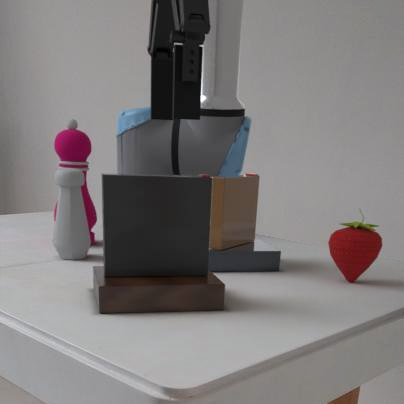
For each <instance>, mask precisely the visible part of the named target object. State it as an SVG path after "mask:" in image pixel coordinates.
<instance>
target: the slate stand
mask: <svg viewBox="0 0 404 404" xmlns="http://www.w3.org/2000/svg"><path fill="white" fill-rule="evenodd" d="M209 245H210V241H209ZM281 256H282V251H281V250H279V248H276V247H275V246H272V245H270V244H268V243H267V242H265V241H263V240H261V239H259V238H257V239H256V238H255V241H252V242H249V243H245V244H241V245H238V246H234V247H231V248H227V249H223V250H216V249H210V248H209V262H208V269H209V270H210V271H211V272H212V273H217V272H218V273H219V272H220V273H221V272H223V273H225V272H279V271H280V268H281Z"/></svg>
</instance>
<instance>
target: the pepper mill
mask: <svg viewBox="0 0 404 404" xmlns="http://www.w3.org/2000/svg"><path fill="white" fill-rule="evenodd" d="M78 126H79V124H78V121H77V120H76V119H74V118H70V119H68V120H67V121H66V127H67V129H63V130H61V131H59V132H58V133H57V134H56V136H55V137H54V142H53V149H54V152H55V154H56V155H57V156H58V157H59V160H58V161H57V164H58V167H57V168H58V169H57V170H59V169H64V168H70V169H79V170H81V171H82V172H83V173H84V185H83V186H81V191H82V197H83V202H84V207H85V212H86V218H87V223H88V228H89V233H90V238H91V246H92V245H94V244H95V243H96V237H95V232H93V231H92V229H94V227H95V225H96V224H97V222H98V215H97V210H96V206H95V205H94V201H93V200H92V197H91V195H90V191H89V189H88V188H89V187H88V181H87V175H88V173H87V172H88V171H89V170H90V168H89V164H90V162H89V161H87V160H88V158H89V157H90V155H91V153H92V149H93V148H92V141H91V139H90V137H89V136H88V135H87V134H86V132H83V131H82V130H80V129H78ZM57 204H58V200H57V201H56V204H55V207H54V211H53V220H54V222H55V220H56V212H57Z"/></svg>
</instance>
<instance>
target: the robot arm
mask: <svg viewBox="0 0 404 404" xmlns="http://www.w3.org/2000/svg"><path fill="white" fill-rule="evenodd" d="M243 9H244V0H151V3H150V14H149V15H150V17H149V30H148V43H147V44H148V45H147V49H146V50H147V54H148V55H149V56H150V106H142V107H135V108H128V109H125V110H122V111H121V112H120V113H119V114H118V116H117V120H116V134H115V138H116V172H117V173H116V174H139V175H172V176H198V174H207V175H211V178H213V177H221V176H236V175H242V174H241V173H242V172H243V168H244V164H245V163H244V162H245V158H246V153H247V149H248V142H249V137H250V132H251V126H252V121H253V119H252V117H250V116H249V115H246V106H245V104H244V103H243V102H242V101H241V99H240V97H239V88H240V86H239V85H240V68H241V67H240V66H241V49H242V29H243V15H244V14H243V12H244V10H243Z"/></svg>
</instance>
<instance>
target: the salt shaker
mask: <svg viewBox="0 0 404 404" xmlns="http://www.w3.org/2000/svg"><path fill="white" fill-rule="evenodd" d="M54 182H55V185H57V186H59V187H58V188H59V189H58V197H57V198H58V199H57V201H58V204H57V203H56V204H57V212H56V220H55V221H54V229H53V238H52V244H53V245H52V246H53V247H54V249H55V251H56V252H57V254H58V256H59V258H60V259H61V260H70V261H71V260H72V261H73V260H84V259H85V258H86V257H87V255H88V252H89V250H90V248H91V246H92V245H91V238H90V233H89V228H88V223H87V218H86V212H85V207H84V202H83V197H82V191H81V186H83V185H84V173H83V172H82V171H81V170H79V169H70V168H64V169H57V170H56V171H55V172H54Z"/></svg>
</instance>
